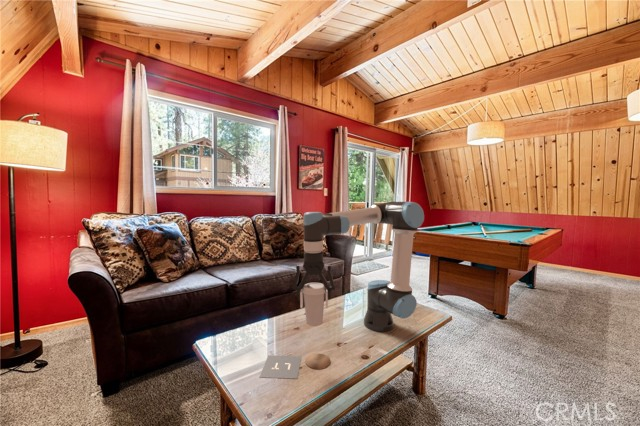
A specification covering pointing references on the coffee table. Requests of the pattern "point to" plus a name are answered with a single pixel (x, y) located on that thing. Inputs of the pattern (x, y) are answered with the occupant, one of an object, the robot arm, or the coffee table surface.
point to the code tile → (281, 367)
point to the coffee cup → (314, 303)
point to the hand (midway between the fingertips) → (314, 306)
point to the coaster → (317, 361)
